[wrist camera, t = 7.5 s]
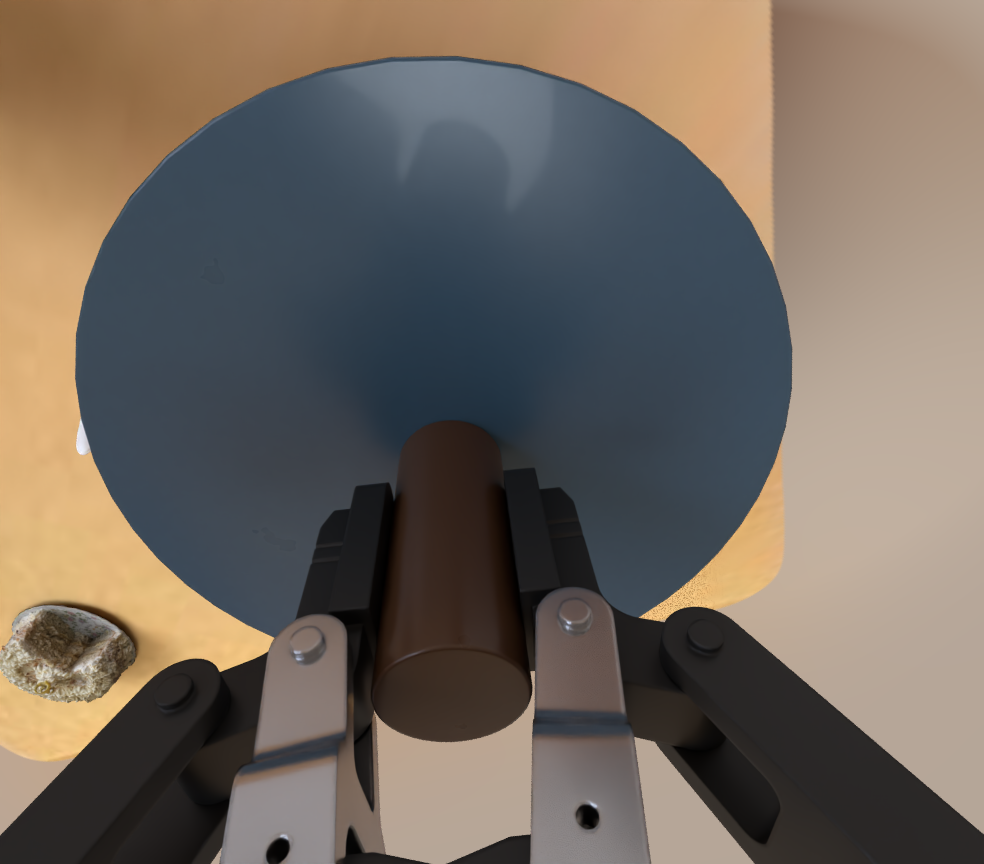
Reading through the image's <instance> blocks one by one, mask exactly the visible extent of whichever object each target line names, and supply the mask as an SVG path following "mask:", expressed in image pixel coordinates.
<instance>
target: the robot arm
mask: <svg viewBox="0 0 984 864" xmlns="http://www.w3.org/2000/svg"><path fill="white" fill-rule="evenodd" d="M503 475H504V487H505V496H506V503H507V510H508V518H509V525H510V533H511V540H512V548H513V555H514V563H515V570H516V578H517V585H518V593H519V600H520V608H521V615H522V623H523V626H524V630H525V636H526V643H527V650H528V658H529V665H530V671H535V714H534V719H533V732H532V734H533V735H532V791H531V794H532V795H531V834H530V835H522V836H513V837H508V838H506V839H504V840H501V841H499V842H496V843H494V844H492V845H489V846H487V847H485V848H482V849H480V850H478V851H476V852H473V853H471V854H469V855H466V856H464V857H461V858H459V859H457V860H454V861H452V862H450V863H447V864H651V859H650V852H649V844H648V836H647V829H646V822H645V814H644V806H643V799H642V791H641V784H640V777H639V769H638V762H637V755H636V747H635V740H634V737H637V738H641V739H646V740H651V741H654V742H656V744H657V746H658V747H659V748H660V750H661V751H662V752H663V753H664V755H665V756H666V757H667V758H668V759H669V760H670V762H671V763H672V764H673V765H674V767H675V768H676V769H677V770H678V772H679V773H680V774H681V775H682V776H683V777H684V779H685V780H686V781H687V782H688V783H689V784H690V786H691V787H692V788H693V789H694V791H695V792H696V793H697V794H698V795H699V797H700V798H701V799H702V800H703V802H704V803H705V804H706V805H707V807H708V808H709V809H710V810H711V811H712V813H713V814H714V815H715V816H716V817H717V818H718V820H719V821H720V822H721V823H722V825H723V826H724V827H725V828H726V829H727V831H728V832H729V833H730V834H731V835H732V837H733V838H734V839H735V840H736V841H737V843H738V844H739V845H740V846H741V848H742V849H743V850H744V851H745V852H746V854H747V855H748V856H749V857H750V858H751V860H752V861H753V862H754V863H755V864H984V834H982V833H981V832H980V831H979V830H978V829H977V828H975V827H974V826H973V825H972V824H971V823H970V822H968V821H967V820H966V819H965V818H964V817H963V816H961V815H960V814H959V813H958V812H957V811H955V810H954V809H953V808H952V807H951V806H950V805H949V804H947V803H946V802H945V801H943V800H942V799H941V798H940V797H939V796H938V795H937V794H936V793H934V792H933V791H932V790H931V789H930V788H929V787H927V786H926V785H925V784H924V783H923V782H921V781H920V780H919V779H918V778H917V777H916V776H915V775H913V774H912V773H911V772H910V771H908V769H906V768H905V767H904V766H903V765H902V764H900V763H899V762H898V761H897V760H896V759H894V758H893V757H892V756H891V755H890V754H889V753H888V752H886V751H885V750H884V749H883V748H882V747H881V746H879V745H878V744H877V743H876V742H874V740H872V739H871V738H870V737H869V736H868V735H866V734H865V733H864V732H863V731H862V730H861V729H859V728H858V727H857V726H856V725H855V724H854V723H852V722H851V721H850V720H849V719H847V717H845V716H844V715H843V714H842V713H841V712H840V711H838V710H837V709H836V708H835V707H834V706H833V705H831V704H830V703H829V702H828V701H827V700H826V699H824V698H823V697H822V696H821V695H820V694H818V693H817V692H816V691H815V690H814V689H813V688H811V687H810V686H809V685H808V684H807V683H806V682H804V681H803V680H802V679H801V678H800V677H799V676H797V675H796V674H795V673H794V672H793V671H792V670H790V669H789V668H788V667H787V666H786V665H785V664H783V663H782V662H781V661H780V660H779V659H777V658H776V657H775V656H774V655H773V654H772V653H770V652H769V651H768V650H767V649H766V648H765V647H763V646H762V645H761V644H760V643H759V642H758V641H756V640H755V639H754V638H753V637H752V636H751V635H749V634H748V633H747V632H746V631H745V630H744V629H742V628H741V627H740V626H739V625H738V624H736V623H735V622H734V621H733V620H732V619H730V618H729V617H727V616H726V615H724V614H722V613H720V612H718V611H715V610H712V609H709V608H704V607H687V608H683V609H680V610H678V611H675V612H674V613H672V614H671V615H670V616H669V617H668V618H667V619H666V621H665V622H660V621H654V620H648V619H642V618H638V617H633V616H630V615H628V614H625V613H623V612H621V611H619V610H618V609H616V608H615V607H613V606H612V605H611V604H610V603H609V602H608V601H607V600H606V599H605V598H604V597H603V595H602V593H601V592H600V589H599V587H598V583H597V580H596V576H595V573H594V569H593V566H592V563H591V559H590V556H589V552H588V549H587V545H586V542H585V538H584V535H583V531H582V528H581V524H580V521H579V517H578V514H577V511H576V507H575V504H574V501H573V500H572V499H571V498H570V497H569V496H568V495H567V493H566V492H565V491H564V490H563V489H562V488H561V487H556V488H546V489H539V484H538V479H537V475H536V470H535V467H533V468H523V469H513V470H504V471H503ZM393 507H394V497H393V493H392V489H391V486H390V483H389V482H386V483H377V484H367V485H358V486H356V487H355V489H354V494H353V498H352V503H351V507H350V509H343V510H334V511H333V513H332V514H331V515H330V516H329V518H328V519H327V520H326V521H325V522H324V524H323V525H322V526H321V528H320V531H319V535H318V539H317V542H316V549H315V550H314V553H313V557H312V564H310V568H309V572H308V575H307V579H306V583H305V586H304V590H303V594H302V597H301V601H300V605H299V608H298V612H297V616H296V619H295V621H293V622H291V623H290V624H288V625H287V626H286V627H284V628H283V629H282V630H281V631H280V632H279V633H278V635H277V636H276V637H275V638H274V640H273V642H272V643H271V646H270V648H269V651H268V652H267V653H265V654H263V655H262V656H260V657H257V658H255V659H253V660H250V661H248V662H245V663H243V664H240V665H237V666H235V667H232V668H230V669H227V670H224V671H222V672H219V670H218V668H217V667H216V666H215V665H214V664H213V663H212V662H210V661H208V660H204V659H188V660H184V661H181V662H178V663H175V664H173V665H171V666H169V667H167V668H165V669H164V670H162V671H161V672H159V673H158V674H157V675H155V676H154V677H153V678H152V679H151V680H150V681H149V682H148V683H147V684H146V685H145V686H144V687H143V688H142V689H141V690H140V691H139V692H138V693H137V694H136V695H135V696H134V697H133V698H132V699H131V700H130V701H129V702H128V703H127V704H126V705H125V706H124V707H123V709H122V710H121V711H120V712H119V713H118V714H117V715H116V716H115V717H114V718H113V719H112V720H111V721H110V722H109V723H108V724H107V725H106V726H105V727H104V728H103V729H102V730H101V731H100V732H99V733H98V734H97V736H96V737H95V738H94V739H93V740H92V741H91V742H90V743H89V744H88V745H87V746H86V747H85V748H84V749H83V750H82V751H81V752H80V753H79V754H78V755H77V756H76V757H75V758H74V759H73V760H72V762H71V763H70V764H69V765H68V766H67V767H66V768H65V769H64V770H63V771H62V772H61V773H60V774H59V775H58V776H57V777H56V778H55V779H54V780H53V781H52V783H50V784H49V785H48V786H47V788H46V789H45V790H44V791H43V792H42V793H41V794H40V795H39V796H38V797H37V798H36V799H35V800H34V801H33V802H32V803H31V804H30V805H29V806H28V807H27V808H26V809H25V810H24V811H23V812H22V814H21V815H20V816H19V817H18V818H17V819H16V820H15V821H14V822H13V823H12V824H11V825H10V826H9V827H8V828H7V829H6V830H5V831H4V832H3V833H2V834H1V835H0V864H211V862H212V861H213V859H214V858H215V857H216V855H217V854H218V852H219V851H220V849H221V848H222V851H221V857H220V863H219V864H429V863H424V862H420V861H415V860H409V859H405V858H400V857H395V856H390V855H386V852H385V846H384V841H383V835H382V830H381V821H380V803H379V777H378V751H377V724H376V717H375V714H374V708H373V705H372V702H371V685H372V677H373V669H374V660H375V652H376V644H377V636H378V628H379V620H380V612H381V604H382V596H383V588H384V579H385V571H386V563H387V555H388V547H389V539H390V531H391V523H392V515H393Z"/></svg>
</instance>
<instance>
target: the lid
mask: <svg viewBox="0 0 984 864" xmlns="http://www.w3.org/2000/svg"><path fill="white" fill-rule="evenodd" d="M75 380H76V387H77V394H78V400H79V407H80V414H81V421H82V424H83V427H84V431H85V434H86V437H87V440H88V443H89V446H90V450H91V453H92V456H93V459H94V462H95V464H96V466H97V468H98V470H99V472H100V474H101V476H102V478H103V480H104V483H105V485H106V487H107V489H108V491H109V493H110V495H111V497H112V499H113V500H114V502H115V503H116V505H117V506H118V508H119V509H120V511H121V512H122V514H123V515H124V517H125V518H126V520H127V521H128V523H129V524H130V526H131V527H132V529H133V530H134V531H135V532H136V534H137V535H138V536H139V537H140V538H141V539H142V541H143V542H144V543H145V544H146V545H147V546H148V548H149V549H150V550H151V551H152V552H153V553H154V555H155V556H156V557H157V558H158V559H159V560H160V561H161V562H162V563H163V564H164V565H165V566H167V567H168V568H169V569H170V570H171V571H172V572H173V573H174V574H175V575H176V576H177V577H178V578H180V579H181V580H182V581H183V582H184V583H185V584H186V585H187V586H189V587H190V588H192V589H193V590H194V591H196V592H197V593H198V594H200V595H201V596H202V597H204V598H205V599H206V600H208V601H209V602H211V603H212V604H213V605H215V606H216V607H218V608H219V609H221V610H223V611H224V612H226V613H228V614H230V615H231V616H233V617H235V618H236V619H238V620H240V621H241V622H243V623H245V624H246V625H248V626H251V627H253V628H255V629H257V630H259V631H261V632H263V633H265V634H268V635H270V636H272V637H274V638H275V637H276V636H277V635H278V633H279V632H280V631H281V630H282V629H283V628H284V627H286V626H287V625H288V624H290V623H291V622H293V621H295V619H296V616H297V612H298V608H299V605H300V601H301V597H302V594H303V590H304V586H305V583H306V579H307V575H308V572H309V568H310V564H312V557H313V553H314V550H315V549H316V542H317V539H318V535H319V531H320V528H321V526H322V525H323V524H324V522H325V521H326V520H327V519H328V518H329V516H330V515H331V514H332V513H333V511H334V510H343V509H350V507H351V503H352V498H353V494H354V489H355V487H356V486H358V485H367V484H377V483H386V482H389V483H390V486H391V489H392V493H393V497H394V507H393V515H392V523H391V531H390V539H389V547H388V555H387V563H386V571H385V579H384V588H383V596H382V604H381V612H380V620H379V628H378V636H377V644H376V652H375V660H374V669H373V677H372V685H371V702H372V705H373V708H374V710H375V712H376V714H377V715H378V717H379V718H380V719H381V720H382V721H383V722H384V723H385V724H387V725H388V726H389V727H391V728H392V729H394V730H396V731H397V732H399V733H402V734H404V735H407V736H410V737H413V738H417V739H421V740H427V741H436V742H458V741H466V740H472V739H477V738H481V737H484V736H488V735H490V734H493V733H495V732H498V731H500V730H502V729H504V728H506V727H507V726H509V725H510V724H512V723H513V722H514V721H516V720H517V719H518V718H519V717H520V716H521V715H522V714H523V713H524V711H525V710H526V708H527V707H528V704H529V702H530V699H531V696H532V680H531V673H530V665H529V658H528V650H527V643H526V636H525V630H524V626H523V623H522V615H521V608H520V600H519V593H518V585H517V578H516V570H515V563H514V555H513V548H512V540H511V533H510V525H509V518H508V510H507V503H506V496H505V487H504V475H503V471H504V470H513V469H523V468H533V467H535V470H536V475H537V479H538V484H539V489H546V488H556V487H561V488H562V489H563V490H564V491H565V492H566V493H567V495H568V496H569V497H570V498H571V499H572V500H573V501H574V504H575V507H576V511H577V514H578V517H579V521H580V524H581V528H582V531H583V535H584V538H585V542H586V545H587V549H588V552H589V556H590V559H591V563H592V566H593V569H594V573H595V576H596V580H597V583H598V587H599V589H600V592H601V593H602V595H603V597H604V598H605V599H606V600H607V601H608V602H609V603H610V604H611V605H612V606H613V607H615V608H616V609H618V610H619V611H621V612H623V613H625V614H628V615H630V616H633V617H640V616H642V615H643V614H645V613H646V612H648V611H649V610H651V609H652V608H654V607H655V606H657V605H658V604H660V603H661V602H663V601H664V600H666V599H667V598H669V597H670V596H671V595H672V594H674V593H675V592H676V591H677V590H679V589H680V588H681V587H682V586H684V585H685V584H686V583H687V582H689V581H690V580H691V579H692V578H694V577H695V576H696V575H697V574H698V573H699V572H700V571H701V570H702V569H703V568H704V567H705V566H706V565H707V564H708V563H709V562H710V561H711V560H712V559H713V558H714V557H715V556H716V555H717V554H718V553H719V551H720V550H721V549H722V548H723V547H724V545H725V544H726V543H727V542H728V540H729V539H730V538H731V537H732V535H733V534H734V533H735V532H736V530H737V529H738V528H739V527H740V525H741V524H742V522H743V521H744V519H745V517H746V516H747V514H748V513H749V511H750V509H751V508H752V506H753V505H754V503H755V502H756V500H757V498H758V497H759V495H760V493H761V491H762V488H763V486H764V484H765V482H766V480H767V478H768V476H769V473H770V471H771V469H772V467H773V465H774V463H775V459H776V456H777V453H778V450H779V447H780V443H781V440H782V437H783V434H784V431H785V427H786V421H787V415H788V409H789V403H790V397H791V389H792V345H791V338H790V331H789V325H788V318H787V311H786V305H785V302H784V299H783V295H782V292H781V289H780V286H779V283H778V280H777V276H776V273H775V270H774V267H773V264H772V262H771V260H770V258H769V256H768V254H767V252H766V250H765V248H764V246H763V244H762V242H761V240H760V238H759V236H758V234H757V232H756V230H755V228H754V226H753V224H752V222H751V221H750V219H749V218H748V216H747V215H746V214H745V212H744V211H743V210H742V208H741V207H740V206H739V204H738V203H737V202H736V200H735V199H734V197H733V196H732V195H731V193H730V192H729V191H728V189H727V188H726V187H725V185H724V184H723V183H722V181H721V180H720V179H719V178H718V177H717V176H716V175H715V174H714V173H713V172H712V171H711V170H710V169H709V168H708V167H707V166H706V165H705V164H704V163H703V162H702V161H701V160H700V159H699V158H697V157H696V156H695V155H694V154H693V153H692V152H691V151H690V150H689V149H688V148H687V147H686V146H685V145H684V144H683V143H682V142H681V141H679V140H678V139H676V138H675V137H674V136H672V135H671V134H669V133H668V132H666V131H665V130H664V129H662V128H661V127H659V126H658V125H656V124H655V123H654V122H652V121H651V120H649V119H648V118H646V117H645V116H644V115H642V114H641V113H639V112H638V111H636V110H635V109H633V108H631V107H629V106H627V105H625V104H623V103H620V102H618V101H616V100H614V99H612V98H610V97H608V96H606V95H604V94H602V93H600V92H598V91H596V90H594V89H592V88H590V87H587V86H585V85H583V84H581V83H578V82H575V81H572V80H568V79H565V78H562V77H559V76H555V75H552V74H549V73H545V72H542V71H539V70H535V69H532V68H529V67H526V66H522V65H517V64H510V63H503V62H496V61H489V60H481V59H474V58H467V57H460V56H427V57H389V58H383V59H378V60H372V61H366V62H360V63H355V64H349V65H343V66H338V67H332V68H327V69H324V70H321V71H318V72H315V73H312V74H309V75H307V76H304V77H301V78H298V79H295V80H292V81H289V82H286V83H284V84H281V85H278V86H275V87H272V88H269V89H267V90H265V91H263V92H261V93H259V94H257V95H256V96H254V97H252V98H250V99H248V100H246V101H245V102H243V103H241V104H239V105H237V106H235V107H234V108H232V109H230V110H228V111H226V112H224V113H223V114H221V115H219V116H217V117H215V118H213V119H212V120H211V121H210V122H208V123H207V124H206V125H204V126H203V127H202V128H201V129H199V130H198V131H197V132H196V133H194V134H193V135H192V136H191V137H189V138H188V139H187V140H185V141H184V142H183V143H182V144H180V145H179V146H178V147H177V148H175V149H174V150H173V151H172V152H170V153H169V154H168V155H167V156H166V157H165V158H164V159H163V160H162V161H161V162H160V164H159V165H158V166H157V167H156V168H155V169H154V170H153V171H152V173H151V174H150V175H149V176H148V177H147V178H146V179H145V180H144V182H143V183H142V184H141V185H140V186H139V187H138V188H137V189H136V191H135V192H134V193H133V194H132V195H131V196H130V198H129V199H128V201H127V203H126V204H125V206H124V208H123V209H122V211H121V212H120V214H119V216H118V217H117V219H116V221H115V222H114V224H113V226H112V227H111V229H110V230H109V232H108V234H107V235H106V237H105V239H104V240H103V242H102V245H101V248H100V250H99V253H98V255H97V258H96V260H95V263H94V266H93V268H92V271H91V273H90V276H89V279H88V281H87V284H86V286H85V291H84V296H83V301H82V306H81V311H80V317H79V322H78V327H77V332H76V368H75Z"/></svg>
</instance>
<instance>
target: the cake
mask: <svg viewBox="0 0 984 864" xmlns="http://www.w3.org/2000/svg"><path fill="white" fill-rule="evenodd" d="M12 626H13V627H12V631H13V635H12V637H11V638H10V640H9V642H8V643H7V644H6V646H2V650H1V651H0V670H1V672H3V675H4V676H6V678H8V680H9V682H10V683H13V684H14V685H17V687H18V688H19V689H23V691H28V693H31V694H33V695H38V696H40V697H44V698H47V699H49V700H53V701H61V702H67V703H69V702H71V701H76V702H78V701H83V700H85V701H87V703H89V702H91V701H92V700H94V699H96V698H102V696H103V695H104V694H106V693H107V692H108V690H109V689H110V687H112V685H113V684H114V683H116V682H117V680H118V679H119V677H120V676H121V673H123V672H124V671H125V670H126V669H127V668H128V666H131V665H132V664H133V663H134V662H135V657H136V653H135V651H136V649H135V647H134V643H133V642H132V641H131V639H130V637H129V636H127V635H126V634H125V632H124V631H122V630H121V629H119V628H118V627H117V626H116V625H115V624H112V623H110V622H109V621H108V620H107V619H103V618H101V617H100V616H97V615H95V614H94V615H93V614H92V613H89V612H87V611H83V610H80V609H77V608H67V607H64V606H54V605H49V606H45V605H43V606H39V607H33V608H31V609H30V610H29V609H27V610H25V611H24V612H22V613H20V614H19V615H18V616H17V617H16V618H15V620H14V622H13V624H12Z"/></svg>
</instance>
